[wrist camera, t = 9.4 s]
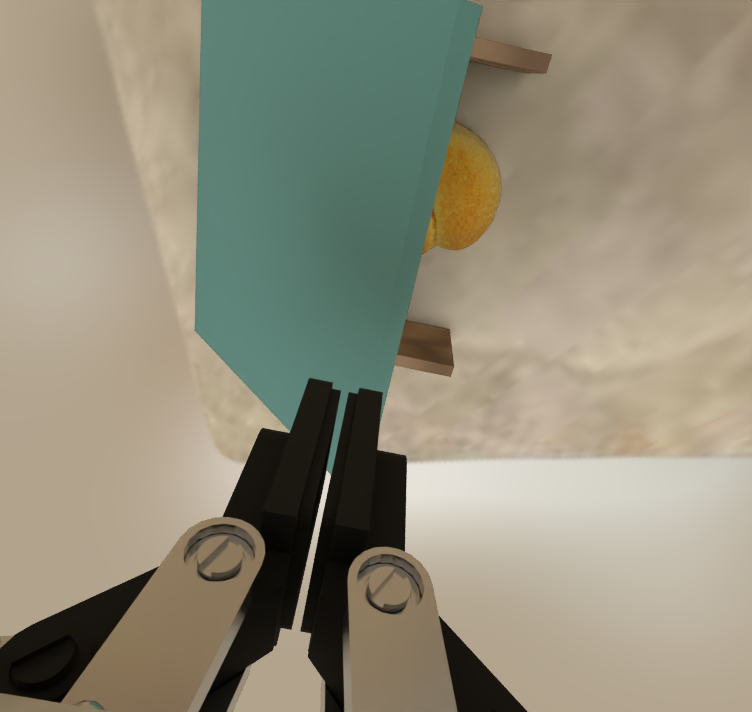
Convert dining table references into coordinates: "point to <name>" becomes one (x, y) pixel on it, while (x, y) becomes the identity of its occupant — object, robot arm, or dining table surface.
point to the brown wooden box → (431, 343)
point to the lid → (320, 183)
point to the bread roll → (464, 193)
